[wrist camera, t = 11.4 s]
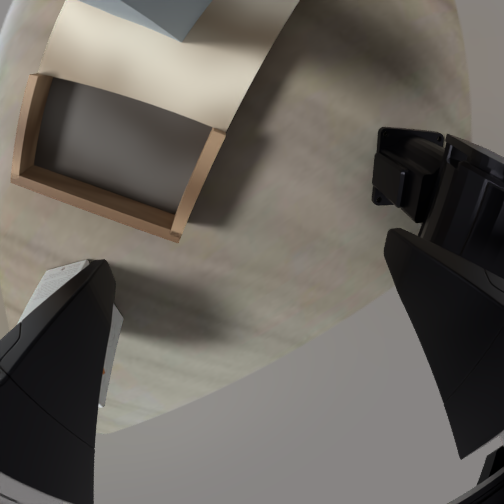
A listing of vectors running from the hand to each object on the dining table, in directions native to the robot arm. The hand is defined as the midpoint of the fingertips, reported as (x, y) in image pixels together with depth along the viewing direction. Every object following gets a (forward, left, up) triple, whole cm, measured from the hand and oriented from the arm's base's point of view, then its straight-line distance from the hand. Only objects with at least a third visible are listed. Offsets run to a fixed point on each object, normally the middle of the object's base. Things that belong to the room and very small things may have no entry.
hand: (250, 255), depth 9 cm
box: (+3, -11, -13) cm, 17 cm away
